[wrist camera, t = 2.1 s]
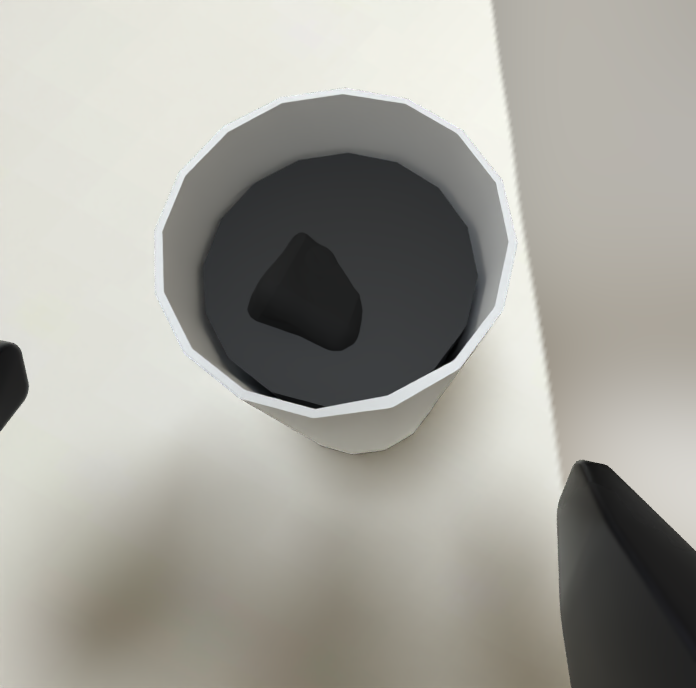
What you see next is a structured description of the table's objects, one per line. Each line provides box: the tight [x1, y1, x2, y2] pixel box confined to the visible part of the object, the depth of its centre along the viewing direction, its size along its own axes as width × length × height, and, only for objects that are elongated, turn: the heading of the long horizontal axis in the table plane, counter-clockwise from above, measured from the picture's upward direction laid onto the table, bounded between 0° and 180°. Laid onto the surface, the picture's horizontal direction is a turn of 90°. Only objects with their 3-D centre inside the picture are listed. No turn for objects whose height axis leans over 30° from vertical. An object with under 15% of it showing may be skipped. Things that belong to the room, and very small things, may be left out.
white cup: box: [154, 88, 518, 454], centre depth 15 cm, size 7×7×10 cm
